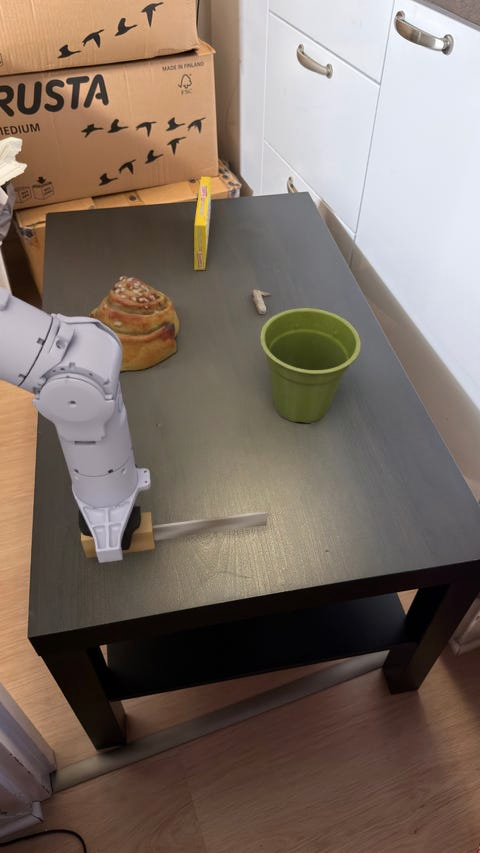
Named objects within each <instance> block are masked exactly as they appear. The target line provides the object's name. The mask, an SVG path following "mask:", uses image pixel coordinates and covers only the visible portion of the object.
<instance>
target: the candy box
mask: <svg viewBox="0 0 480 853" xmlns="http://www.w3.org/2000/svg"><path fill="white" fill-rule="evenodd" d="M198 188H199V189H198V195H197V203H196V211H195V217H194V225H193V226H194V227H193V228H194V231H193V232H194V236H193V237H194V238H193V239H194V242H193V244H194V250H193V252H194V256H193V257H194V263H193V264H194V268H193V269H194V271H206V262H207V254H208V244H209V235H210V224H211V216H212V215H211V214H212V178H211V176H200V182H199V187H198Z"/></svg>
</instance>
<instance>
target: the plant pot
mask: <svg viewBox="0 0 480 853" xmlns="http://www.w3.org/2000/svg"><path fill="white" fill-rule="evenodd" d="M259 337H260V338H259V339H260V344H261V348H262V349H263V351H264V352H265V355H266V359H267V360H266V361H267V362H268V367H269V368H268V369H269V375H270V376H269V377H270V385H271V391H272V392H271V393H272V401H273V406H274V408H275V410H276V412H277V413H278V414H279V415H280V416H281V417H282V418H283V419H285V420H287V421H289V422H293V423H305V424H311V423H314V422H316V421H320V419H322V418H323V417H324V416H325V415H326V414H327V413H328V410H329V408H330V406H331V404H332V401H333V400H334V397H335V394H336V392H337V390H338V387H339V386H340V384H341V381H342V379H343V377H344V374H345V373H346V372H347V371H348V368H349V367H350V365H351V364H352V363H354V361H355V360H356V359H357V357H358V356H359V354H360V351H361V346H362V345H361V344H362V343H361V339H360V336H359V333H358V331H357V330H356V329H355V327H353V325H352V324H351V323H350V322H349V321H347V320H346V319H345V318H343V317H341V316H340V315H337V314H335V313H333V312H330V311H327V310H324V309H318V308H310V307H301V308H293V309H287V310H284V311H281V312H279V313H277V314H275V315H273V316H272V317H270V318H269V319H268V320H267V321H266V322H265V323H264V324H263V326H262V328H261V331H260V336H259Z"/></svg>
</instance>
